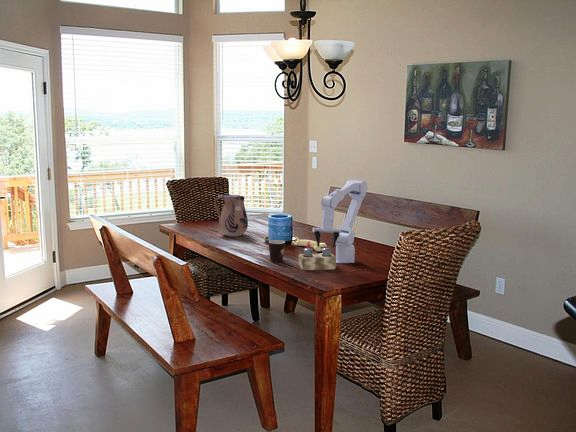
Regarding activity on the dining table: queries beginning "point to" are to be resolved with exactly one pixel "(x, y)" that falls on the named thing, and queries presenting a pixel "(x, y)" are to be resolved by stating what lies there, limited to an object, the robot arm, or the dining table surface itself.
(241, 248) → the dining table surface
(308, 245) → the cat figure
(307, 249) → the peg
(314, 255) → the block
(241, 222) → the ceramic pitcher
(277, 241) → the coffee mug
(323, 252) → the peg
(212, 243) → the dining table surface
